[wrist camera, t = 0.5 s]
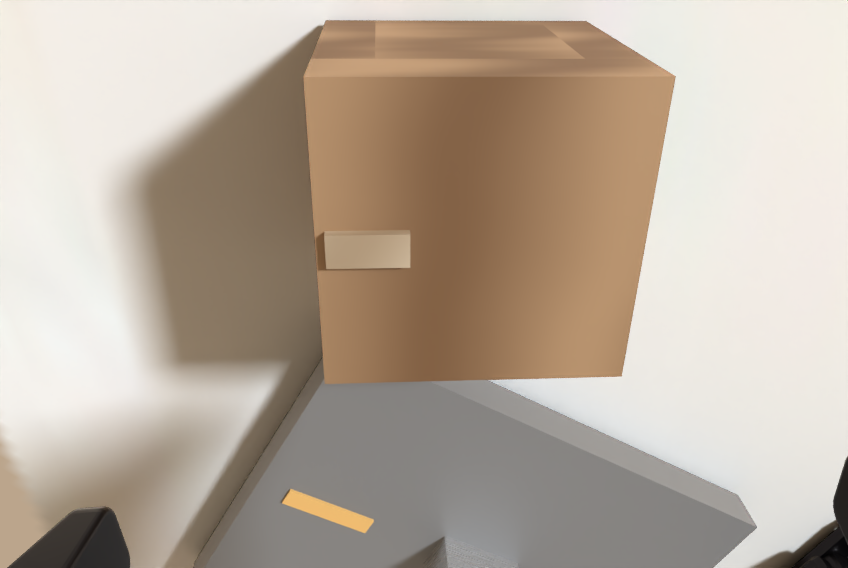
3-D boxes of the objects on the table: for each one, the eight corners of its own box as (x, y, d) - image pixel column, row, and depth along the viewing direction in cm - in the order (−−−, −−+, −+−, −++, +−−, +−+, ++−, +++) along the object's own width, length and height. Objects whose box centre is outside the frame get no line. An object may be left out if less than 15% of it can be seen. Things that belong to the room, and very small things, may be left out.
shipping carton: (586, 21, 18) (679, 79, 12) (559, 253, 21) (624, 381, 15) (325, 20, 17) (302, 79, 12) (338, 256, 20) (324, 389, 15)
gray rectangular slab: (737, 495, 26) (758, 529, 24) (548, 676, 31) (556, 713, 29) (348, 316, 21) (346, 346, 20) (194, 561, 26) (184, 600, 25)
